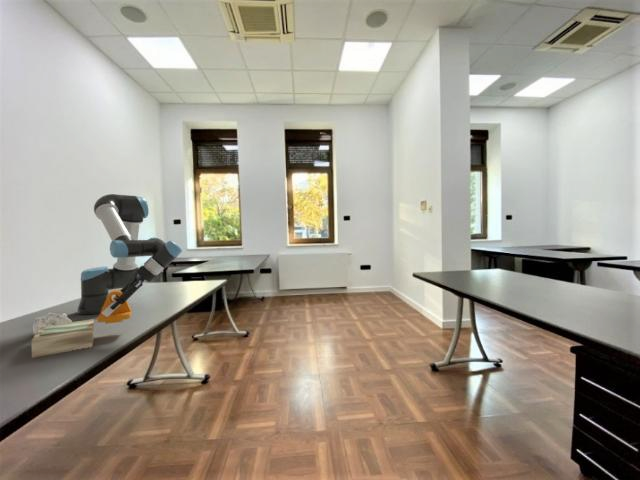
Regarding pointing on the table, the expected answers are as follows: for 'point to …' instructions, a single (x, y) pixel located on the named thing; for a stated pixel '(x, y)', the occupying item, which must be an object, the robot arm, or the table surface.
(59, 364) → the table surface
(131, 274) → the robot arm
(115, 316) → the bracket
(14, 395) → the table surface
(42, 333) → the riser stand
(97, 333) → the table surface
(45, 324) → the white bone skull
